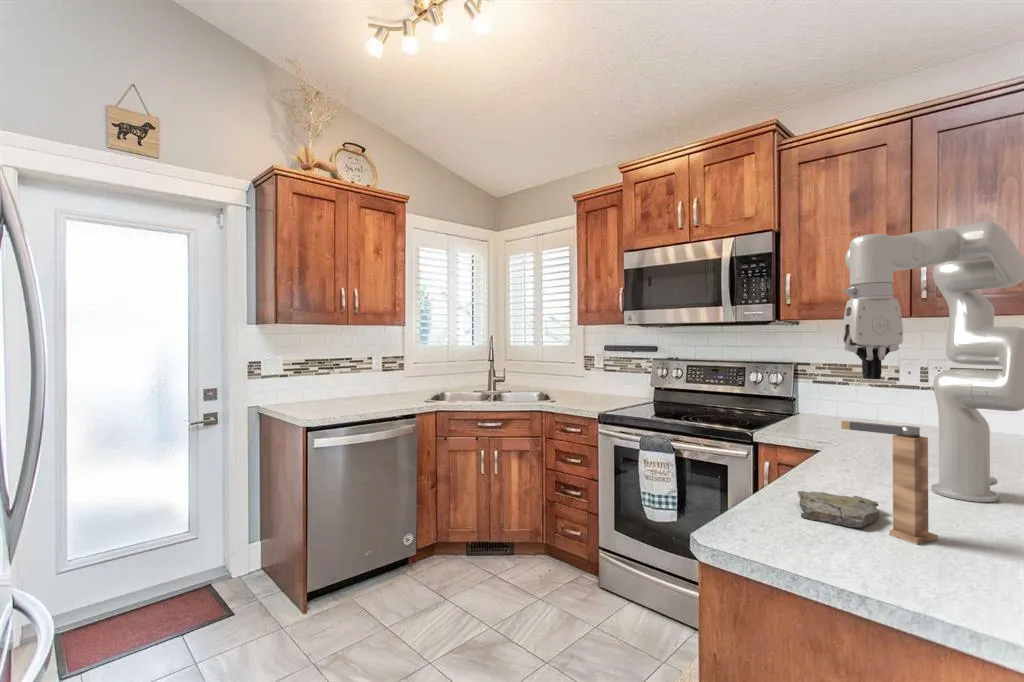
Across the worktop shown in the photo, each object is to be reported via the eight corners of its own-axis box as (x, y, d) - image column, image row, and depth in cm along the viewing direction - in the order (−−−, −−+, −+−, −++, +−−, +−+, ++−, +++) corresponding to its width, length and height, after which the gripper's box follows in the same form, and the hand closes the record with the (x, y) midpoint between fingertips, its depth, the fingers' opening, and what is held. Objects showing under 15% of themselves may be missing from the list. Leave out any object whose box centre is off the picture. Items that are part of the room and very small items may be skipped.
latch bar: (920, 435, 99) (920, 426, 99) (918, 438, 97) (918, 428, 97) (844, 427, 109) (844, 419, 109) (840, 429, 107) (840, 421, 107)
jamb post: (909, 531, 102) (909, 433, 102) (937, 540, 98) (937, 438, 98) (889, 535, 100) (889, 435, 100) (917, 544, 96) (916, 440, 96)
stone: (881, 536, 101) (881, 518, 101) (794, 520, 109) (794, 504, 109) (876, 511, 116) (876, 496, 116) (800, 499, 124) (800, 485, 124)
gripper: (847, 291, 103) (847, 380, 103) (920, 291, 103) (921, 380, 103) (825, 295, 111) (825, 377, 111) (893, 294, 110) (894, 377, 110)
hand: (871, 378), depth 107 cm, fingers closed
